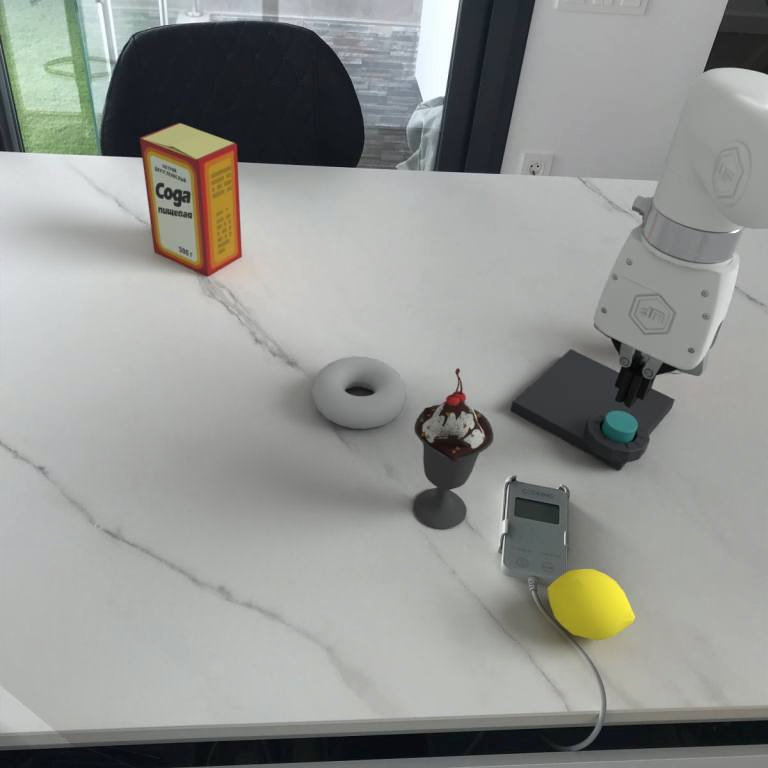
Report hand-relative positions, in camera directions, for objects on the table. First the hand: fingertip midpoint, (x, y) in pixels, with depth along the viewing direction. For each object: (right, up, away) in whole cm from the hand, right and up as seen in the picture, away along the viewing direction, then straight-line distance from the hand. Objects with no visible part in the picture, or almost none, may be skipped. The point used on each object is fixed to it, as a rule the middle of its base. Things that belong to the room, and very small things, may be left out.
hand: (628, 397), depth 75 cm
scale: (-1, -1, +9) cm, 9 cm away
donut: (-27, -1, +7) cm, 28 cm away
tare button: (0, -4, +3) cm, 4 cm away
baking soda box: (-49, +18, +28) cm, 59 cm away
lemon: (-8, -18, -12) cm, 23 cm away
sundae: (-19, -10, -3) cm, 22 cm away
